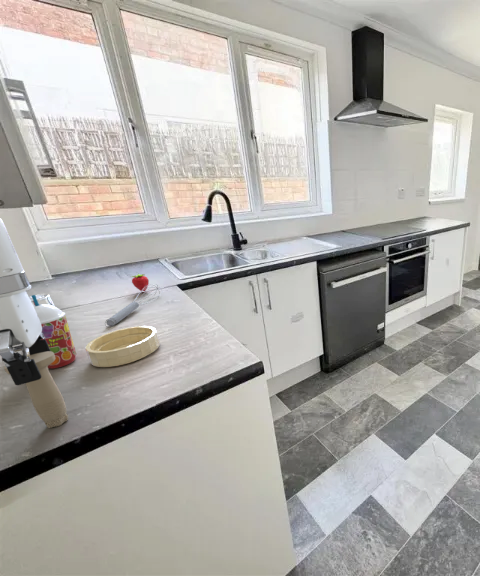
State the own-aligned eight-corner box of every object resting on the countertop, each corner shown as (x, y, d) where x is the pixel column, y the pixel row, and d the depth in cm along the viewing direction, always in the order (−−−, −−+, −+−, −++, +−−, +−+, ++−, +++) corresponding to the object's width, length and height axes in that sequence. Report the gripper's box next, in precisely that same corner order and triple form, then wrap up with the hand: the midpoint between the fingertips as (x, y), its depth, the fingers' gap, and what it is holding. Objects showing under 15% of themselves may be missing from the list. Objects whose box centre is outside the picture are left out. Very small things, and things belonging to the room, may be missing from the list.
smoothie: (34, 375, 79) (1, 303, 73) (45, 361, 86) (15, 294, 80) (78, 365, 84) (50, 296, 77) (84, 352, 90) (60, 287, 84)
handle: (33, 427, 62) (2, 363, 57) (76, 409, 67) (50, 349, 62) (38, 438, 60) (5, 372, 55) (82, 418, 65) (56, 356, 60)
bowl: (88, 376, 79) (82, 359, 77) (94, 351, 91) (88, 336, 89) (161, 355, 88) (157, 340, 86) (158, 335, 100) (154, 321, 98)
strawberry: (137, 295, 136) (131, 274, 132) (133, 292, 140) (127, 271, 137) (153, 292, 140) (147, 271, 137) (149, 288, 145) (143, 268, 141)
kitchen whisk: (97, 330, 104) (91, 312, 102) (152, 296, 136) (148, 282, 134) (117, 328, 105) (111, 311, 103) (167, 295, 137) (163, 281, 135)
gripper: (-18, 279, 58) (19, 358, 64) (-62, 305, 45) (-10, 401, 51) (39, 271, 62) (69, 346, 68) (13, 293, 49) (54, 383, 55)
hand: (35, 369), depth 59 cm, fingers open, 9 cm apart
